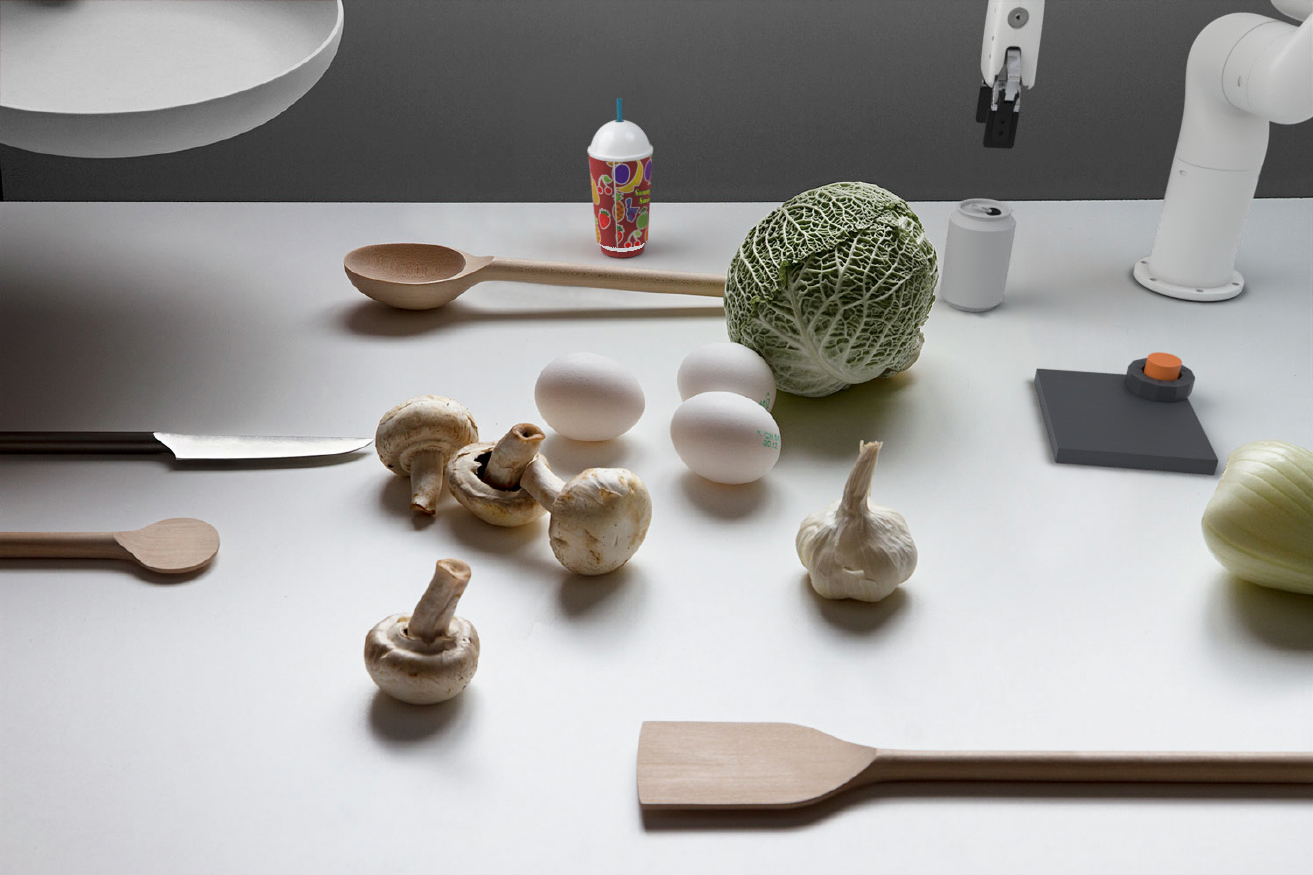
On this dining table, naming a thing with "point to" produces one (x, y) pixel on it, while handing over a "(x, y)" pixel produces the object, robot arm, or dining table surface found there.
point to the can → (977, 254)
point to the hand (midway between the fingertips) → (993, 134)
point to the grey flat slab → (1124, 420)
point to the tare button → (1163, 366)
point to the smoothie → (621, 185)
